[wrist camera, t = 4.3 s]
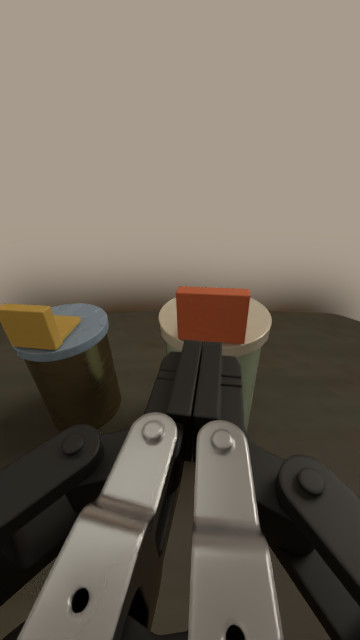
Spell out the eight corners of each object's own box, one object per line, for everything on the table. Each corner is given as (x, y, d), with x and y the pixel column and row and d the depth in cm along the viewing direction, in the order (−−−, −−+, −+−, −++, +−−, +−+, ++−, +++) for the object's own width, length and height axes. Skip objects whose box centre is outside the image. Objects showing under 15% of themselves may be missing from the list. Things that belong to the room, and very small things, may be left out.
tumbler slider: (83, 321, 24) (74, 286, 22) (56, 350, 20) (42, 312, 18) (45, 318, 24) (32, 284, 22) (11, 346, 21) (-7, 309, 19)
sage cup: (249, 391, 30) (265, 291, 23) (255, 466, 23) (280, 352, 16) (176, 384, 31) (170, 287, 25) (159, 452, 24) (144, 341, 17)
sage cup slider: (242, 309, 20) (246, 267, 18) (244, 344, 16) (250, 295, 15) (187, 306, 21) (186, 266, 19) (177, 339, 17) (175, 292, 15)
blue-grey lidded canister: (133, 381, 32) (120, 304, 26) (107, 442, 25) (80, 357, 19) (73, 374, 34) (47, 300, 28) (31, 431, 27) (-15, 348, 21)
